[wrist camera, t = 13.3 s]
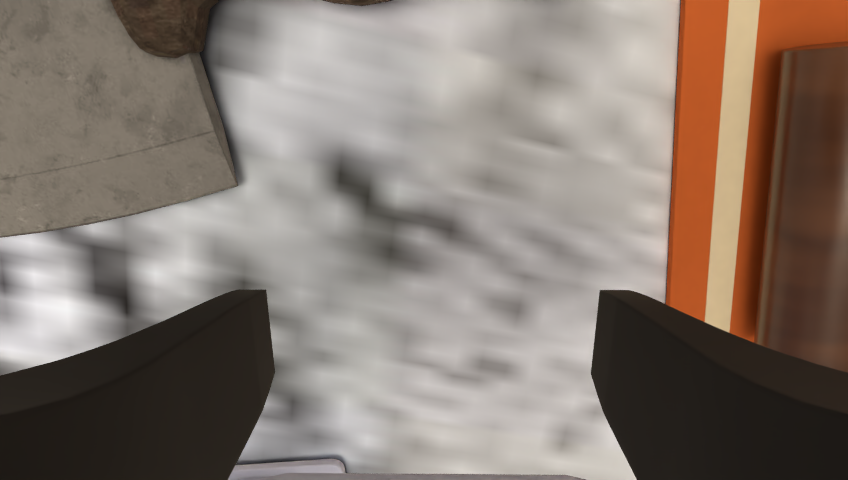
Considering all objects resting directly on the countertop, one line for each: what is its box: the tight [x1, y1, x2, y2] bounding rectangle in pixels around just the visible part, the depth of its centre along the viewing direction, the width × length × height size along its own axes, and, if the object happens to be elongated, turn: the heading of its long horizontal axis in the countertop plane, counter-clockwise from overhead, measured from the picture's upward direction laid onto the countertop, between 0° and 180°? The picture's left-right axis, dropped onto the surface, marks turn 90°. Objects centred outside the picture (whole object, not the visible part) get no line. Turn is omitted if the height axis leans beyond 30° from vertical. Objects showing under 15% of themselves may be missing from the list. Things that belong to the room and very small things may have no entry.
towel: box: [666, 0, 848, 342], centre depth 20 cm, size 20×11×1 cm, turn 6°
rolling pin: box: [754, 41, 848, 372], centre depth 18 cm, size 11×4×4 cm, turn 6°
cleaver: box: [0, 0, 392, 238], centre depth 18 cm, size 29×10×2 cm, turn 101°
